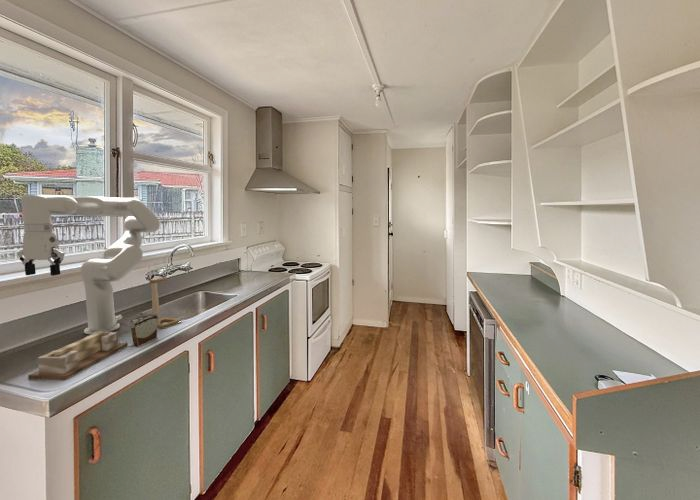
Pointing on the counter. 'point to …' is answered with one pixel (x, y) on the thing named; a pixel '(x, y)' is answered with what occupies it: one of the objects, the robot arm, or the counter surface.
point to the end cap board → (82, 364)
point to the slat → (83, 346)
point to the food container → (143, 328)
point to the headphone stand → (156, 306)
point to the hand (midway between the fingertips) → (43, 274)
